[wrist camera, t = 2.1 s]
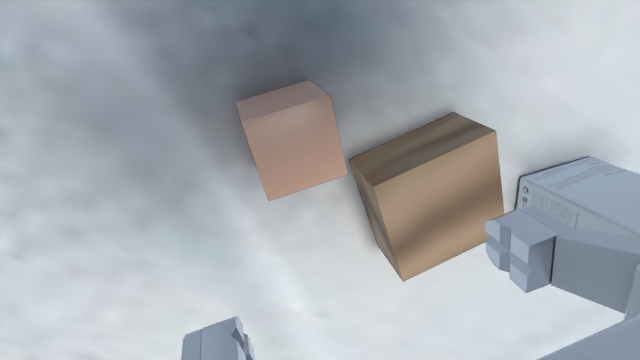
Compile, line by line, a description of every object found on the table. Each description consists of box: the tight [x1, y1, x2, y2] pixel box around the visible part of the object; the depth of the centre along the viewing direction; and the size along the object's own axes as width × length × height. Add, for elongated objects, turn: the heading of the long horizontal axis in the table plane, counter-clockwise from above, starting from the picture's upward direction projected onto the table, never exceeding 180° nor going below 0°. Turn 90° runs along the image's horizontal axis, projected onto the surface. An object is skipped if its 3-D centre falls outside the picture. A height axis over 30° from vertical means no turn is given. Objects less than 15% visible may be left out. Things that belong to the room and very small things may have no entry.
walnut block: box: [349, 112, 504, 282], centre depth 28 cm, size 9×9×5 cm
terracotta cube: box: [236, 80, 348, 201], centre depth 22 cm, size 5×5×5 cm
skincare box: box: [516, 157, 640, 238], centre depth 28 cm, size 8×6×15 cm
